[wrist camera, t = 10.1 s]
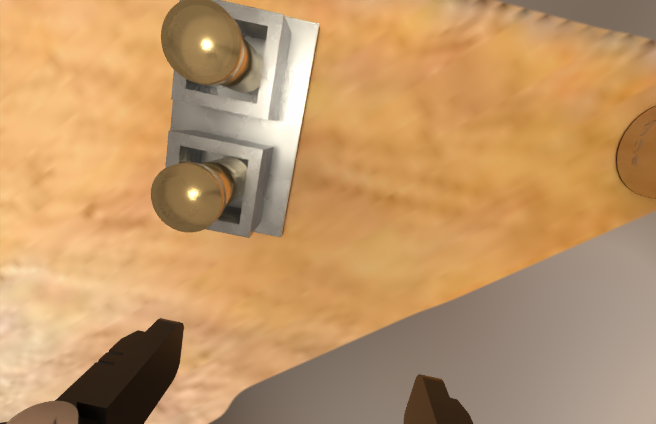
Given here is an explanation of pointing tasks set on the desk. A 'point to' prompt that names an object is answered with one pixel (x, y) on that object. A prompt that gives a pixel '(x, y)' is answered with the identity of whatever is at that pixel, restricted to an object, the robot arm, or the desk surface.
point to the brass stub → (197, 192)
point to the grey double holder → (240, 100)
